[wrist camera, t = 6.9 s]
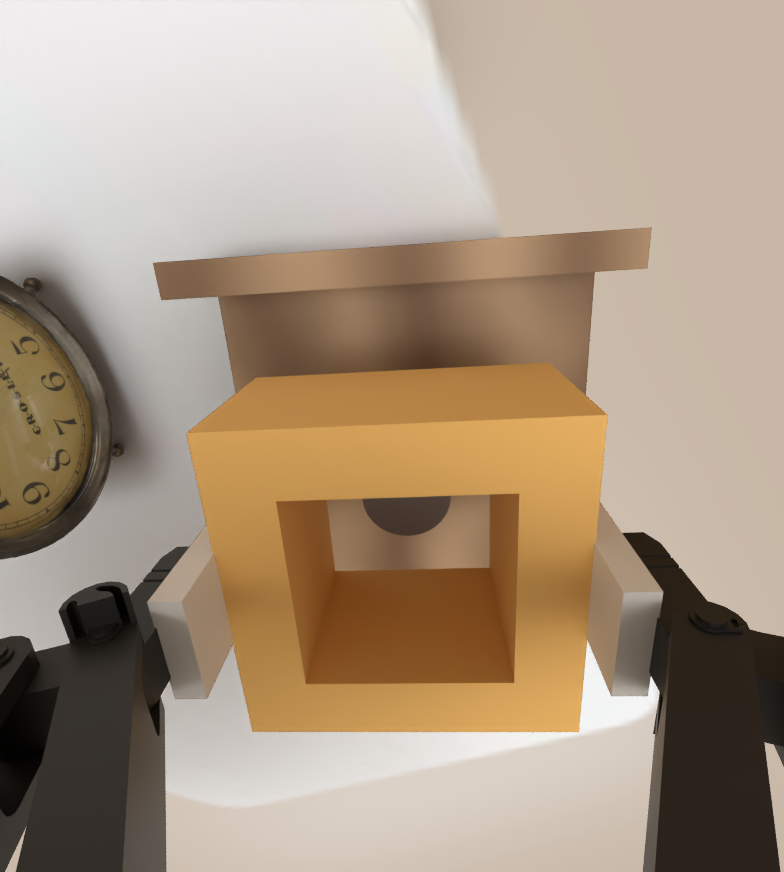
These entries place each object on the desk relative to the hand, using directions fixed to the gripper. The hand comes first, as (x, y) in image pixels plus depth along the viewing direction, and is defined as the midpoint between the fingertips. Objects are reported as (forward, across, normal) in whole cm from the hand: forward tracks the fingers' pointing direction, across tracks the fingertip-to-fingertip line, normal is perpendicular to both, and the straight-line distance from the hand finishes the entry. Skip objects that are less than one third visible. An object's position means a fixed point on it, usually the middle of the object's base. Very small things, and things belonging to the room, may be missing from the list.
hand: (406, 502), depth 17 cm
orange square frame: (0, 0, 0) cm, 0 cm away
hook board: (+9, 0, 0) cm, 9 cm away
